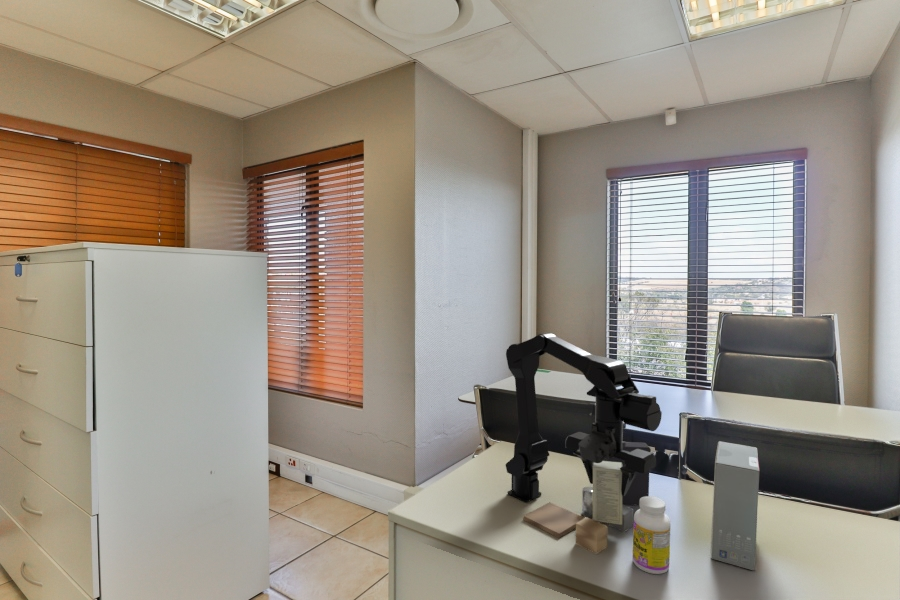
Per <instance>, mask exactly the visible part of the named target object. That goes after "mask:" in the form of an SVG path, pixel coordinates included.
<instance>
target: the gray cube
mask: <svg viewBox="0 0 900 600" xmlns="http://www.w3.org/2000/svg"><path fill="white" fill-rule="evenodd" d="M607 526H608V527H609V526H610V527H611V528H613V529H616V530H619V532H620V531H621V532H623V533H625V532H626V531H627V530H629V529H630V528H633V527H634V508H631V507H629V506H628V505H622V525H620V524H613V523H607Z"/></svg>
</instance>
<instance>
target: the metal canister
mask: <svg viewBox="0 0 900 600" xmlns="http://www.w3.org/2000/svg"><path fill="white" fill-rule="evenodd" d="M581 491H582V492H581V493H582V494H581V495H582V496H581V498H582V500H581V516H582V517H584V518H585V517H588V518H590V519H592V520H593V486H584V487H583V488H582V490H581Z"/></svg>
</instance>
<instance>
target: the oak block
mask: <svg viewBox="0 0 900 600" xmlns="http://www.w3.org/2000/svg"><path fill="white" fill-rule="evenodd" d="M575 545H578V546H580V547H581V548H583V549H586V550H588V551H589V552H592V553H594V554H595V555H597V554H599V553H601V552H602V551H604V549H606V548H607V547H608V525H606V524H603V523H601V522H600V521H595V520H593V519H590V518H588V517H586V518H585V517H584V519H582V520H581V521H579V522H577V523H576V528H575Z"/></svg>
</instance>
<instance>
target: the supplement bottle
mask: <svg viewBox="0 0 900 600" xmlns="http://www.w3.org/2000/svg"><path fill="white" fill-rule="evenodd" d="M638 507H639V509H637V510H636V511H635V512H634V513H633V530H632V532H633V534H632V561H633V564H634V565H635V566H636V567H637V568H638V569H640V570H641V571H643V572H646V573H647V574H652V575H661V574H662V575H663V574H665V573H667V572H668V571H669V568H670V555H671V554H670V553H671V552H670V550H671V549H670V548H671V519H670V517H669V516H668V515H667V514H666V513H665V512H666V510H667V509H666V503H665V501H664V500H662V499H661V498H659V497H655V496H651V495H650V496H645V497H642V498H640V500H639V505H638Z"/></svg>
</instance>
